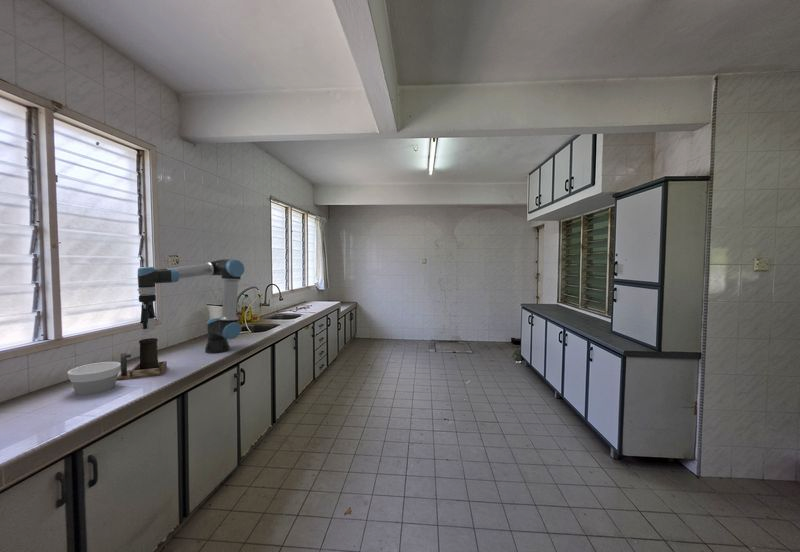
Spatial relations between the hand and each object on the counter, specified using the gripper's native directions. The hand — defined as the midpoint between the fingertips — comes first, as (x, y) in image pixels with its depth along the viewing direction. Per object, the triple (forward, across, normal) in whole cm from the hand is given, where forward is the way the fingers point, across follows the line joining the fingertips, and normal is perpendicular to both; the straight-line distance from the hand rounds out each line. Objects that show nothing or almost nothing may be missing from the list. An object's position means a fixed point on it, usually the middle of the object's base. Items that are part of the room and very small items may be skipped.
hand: (148, 332), depth 181 cm
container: (+22, 0, 0) cm, 22 cm away
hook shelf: (+23, 0, -4) cm, 23 cm away
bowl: (+23, +17, -18) cm, 34 cm away
